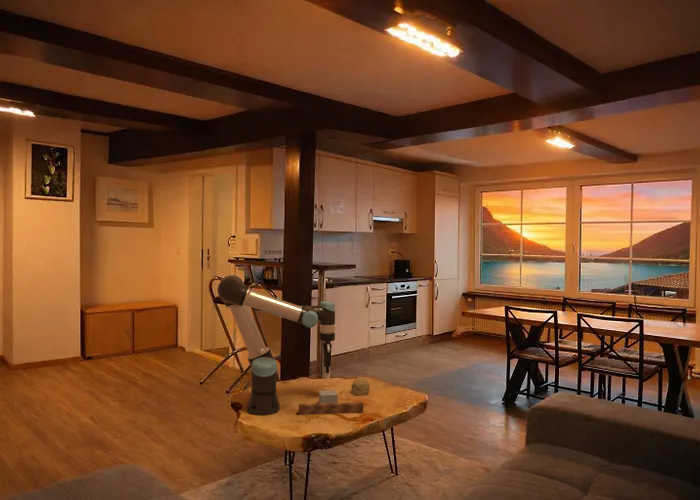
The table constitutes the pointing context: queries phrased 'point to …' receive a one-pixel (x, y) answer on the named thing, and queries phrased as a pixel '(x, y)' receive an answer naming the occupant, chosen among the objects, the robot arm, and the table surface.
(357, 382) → the decorative object
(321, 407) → the brown wooden bar
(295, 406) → the table surface
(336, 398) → the block
